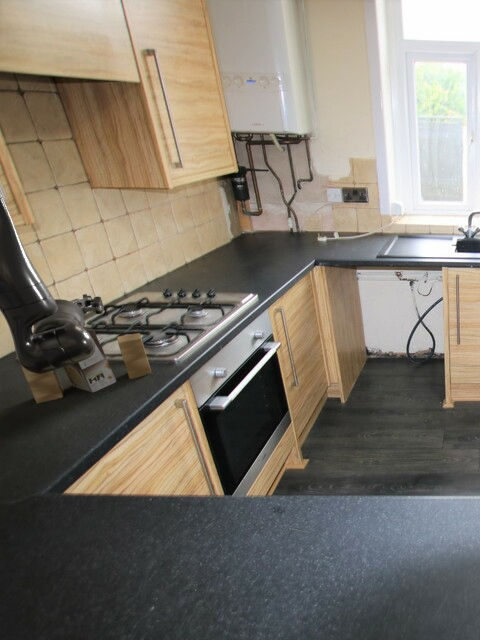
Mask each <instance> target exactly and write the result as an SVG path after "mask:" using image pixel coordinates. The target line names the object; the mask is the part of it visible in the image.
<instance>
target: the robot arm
mask: <svg viewBox="0 0 480 640" xmlns="http://www.w3.org/2000/svg"><path fill="white" fill-rule="evenodd" d="M104 308H105V306H104V303H103V300H102V297H101V296H95V297H92V295H88V294H87V293H83V294H82V298H74V299H72V300H68V299H62V298H58V299H55V298H54V297H53V295H52V293H51V292H50V290H49V289H48V287H47V285H46V284H45V282H44V281H43V279H42V277H41V275H40V274H39V273H38V271H37V269H36V268H35V266H34V264H33V262H32V260H31V258H30V257H29V254H28V253H27V251H26V249H25V247H24V244H23V243H22V240H21V237H20V236H19V233H18V231H17V228H16V226H15V223H14V221H13V218H12V216H11V213H10V211H9V208H8V205H7V204H6V201H5V199H4V196H3V194H2V192H1V190H0V313H1V314H2V316H3V317H4V319H5V321H6V323H7V326H8V328H9V331H10V334H11V338H12V341H13V347H14V351H15V355H16V358H17V361H18V363H19V365H20V364H21V365H22V366H23V367H24V368H25V369H26V370H28V371H30V372H33V373H37V374H42V373H47V372H50V371H53V370H56V371H57V370H58V369H62V368H64V367H65V366H68V365H71V364H74V363H77V362H80V361H83V360H86V359H88V358H89V357H91V356H92V355H93V353H94V352H95V342H94V340H93V338H92V337H91V335H90V334H89V333H88V332H87V331H86V330H85V329H84V328H85V325H86V322H85V315H87V314H88V313H90V312H93V313H94V314H95V315H101V314H103V313H104ZM21 365H20V366H21Z"/></svg>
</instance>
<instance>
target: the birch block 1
mask: <svg viewBox="0 0 480 640" xmlns="http://www.w3.org/2000/svg"><path fill="white" fill-rule="evenodd" d="M19 365H20V367H21V369H22V372H23V374H24V378H25V379H26V381H27V383H28V386H29V389H30V391H31V393H32V396H33V398H34V400H35V403H36V404H41V403H45V402H50V401H54V400H58V399H62V398H64V390H65V389H64V387H63V384H62V382H61V379H60V377H59V374H58V372H57V369H56V370H53V371H50V372H47V373H42V374H37V373H33V372H30V371H28V370H26V369H25V368H24V367H23V366H22V365H21V364H20V363H19Z"/></svg>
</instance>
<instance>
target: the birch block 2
mask: <svg viewBox="0 0 480 640" xmlns="http://www.w3.org/2000/svg"><path fill="white" fill-rule="evenodd" d="M116 340H117V344H118V347H119V350H120V353H121V356H122V360H123V363H124V365H125V369H126V372H127V375H128V379H129V380H133V379H136V378H140V377H143V376H147V375H151V374H152V369H151V366H150V363H149V359H148V356H147V353H146V349H145V345H144V342H143V340H142V337H141V333H140V332H138V333H132V334H127V335H126V334H125V335H121V336H116Z"/></svg>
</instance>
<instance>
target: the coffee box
mask: <svg viewBox="0 0 480 640" xmlns="http://www.w3.org/2000/svg"><path fill="white" fill-rule="evenodd" d="M84 329H85V330H86V331H87V332H88V333H89V334H90V335H91V337H92V338H93V340H94V342H95V352H94V353H93V355H92V356H91V357H89V358H88V359H86V360H83V361H80V362H77V363H74V364H71V365H68V366H65V367H63V370H64V371H65V373H66V375H67V377H68V379H69V382H70V383H71V386H72V387H74V388H77V389H80V390H83V391H85V392H86V391H87V392H90V393H95V392H98V391H99V390H102V389H104V388H106V387H109V386H110V385H113V384H115V383H116V382H117V379H116V376H115V374H114V372H113V369H112V367H111V364H110V363H109V361H108V359H107V356H106V354H105V352H104V349H103V347H102V344H101V343H100V341H99V338H98V336H97V333H96V331H95V329H93V328H88V327H84Z"/></svg>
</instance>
